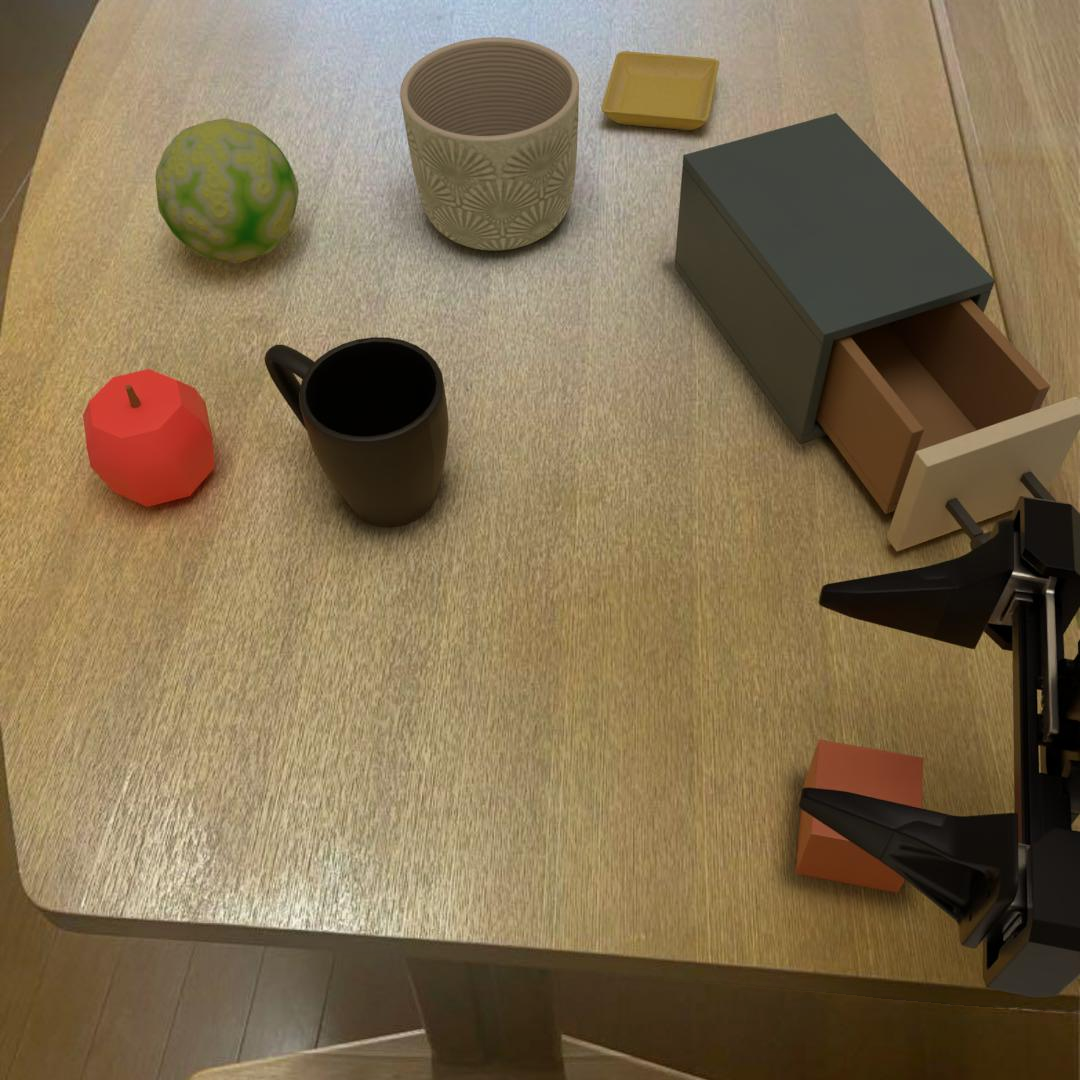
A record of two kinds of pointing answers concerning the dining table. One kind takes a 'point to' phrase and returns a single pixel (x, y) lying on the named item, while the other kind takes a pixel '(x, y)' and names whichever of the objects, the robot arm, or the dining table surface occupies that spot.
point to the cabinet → (810, 254)
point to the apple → (149, 437)
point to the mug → (371, 422)
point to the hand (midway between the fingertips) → (810, 690)
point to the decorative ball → (226, 190)
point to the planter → (493, 139)
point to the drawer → (943, 421)
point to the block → (864, 776)
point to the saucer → (660, 90)
